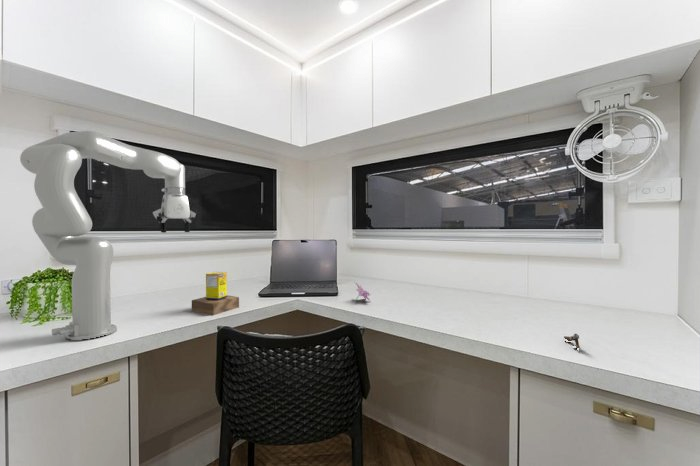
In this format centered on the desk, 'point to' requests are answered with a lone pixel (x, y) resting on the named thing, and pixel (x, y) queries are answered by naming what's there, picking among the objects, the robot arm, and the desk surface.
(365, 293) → the lily
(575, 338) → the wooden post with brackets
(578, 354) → the desk surface
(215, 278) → the supplement box
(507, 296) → the desk surface
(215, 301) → the walnut block
